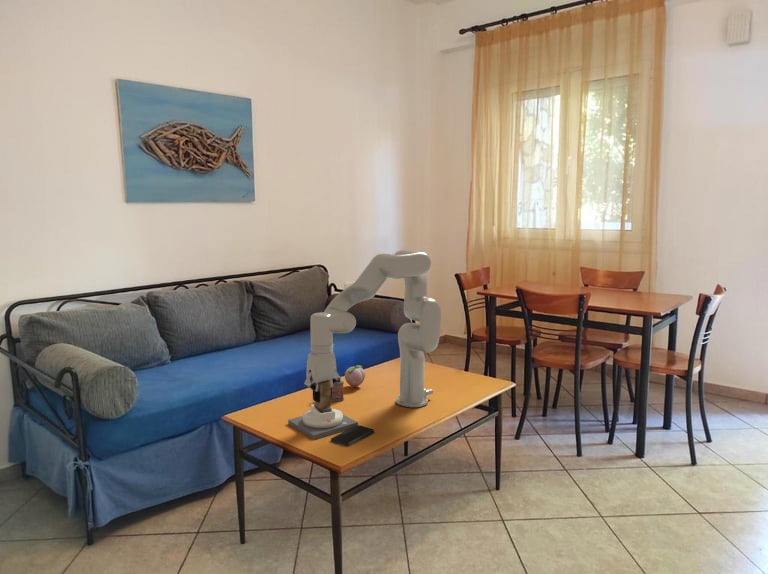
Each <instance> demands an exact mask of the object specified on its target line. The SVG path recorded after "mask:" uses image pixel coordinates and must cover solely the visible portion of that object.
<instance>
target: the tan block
mask: <svg viewBox="0 0 768 574" xmlns="http://www.w3.org/2000/svg"><path fill="white" fill-rule="evenodd" d="M315 386H316V384H315ZM318 391H320V402H316V401H314V403H313V404H314V407H315V408H316V409H317V410H318V411H319V412H320V413H326V412H332V409H333V408H332V407H331V406H332V403H331V401H332V400H331V382H330V381H328V380H327V381H323V382H320V383H319V390H318Z"/></svg>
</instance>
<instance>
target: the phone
mask: <svg viewBox="0 0 768 574" xmlns="http://www.w3.org/2000/svg"><path fill="white" fill-rule="evenodd" d="M375 431H376V430H375V429H374V428H370V427H367V426H363V425H360V424H358V425H357V426H355V427H353V428H351V429H347V430H344V431H341V433H340V432H339V434H336V435H334V436H332V437H331V438H330V442H331V443H334V444H337V445H340V446H343V447H347V448H348V447H351V446H354V444H356V443H358V442H360V441H362V440H364V439H366V438H367V437H370V436H372V435H373V434H375Z"/></svg>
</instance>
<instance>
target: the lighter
mask: <svg viewBox="0 0 768 574" xmlns="http://www.w3.org/2000/svg"><path fill="white" fill-rule="evenodd" d="M344 384H345V382H344V381H343V380H341V376H340V375H339V377H338V378H337V380H336V381H335V383H334V384H333V387H332V398H331V401H332V402H333V401H334V402H344V400H345V397H344Z"/></svg>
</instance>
